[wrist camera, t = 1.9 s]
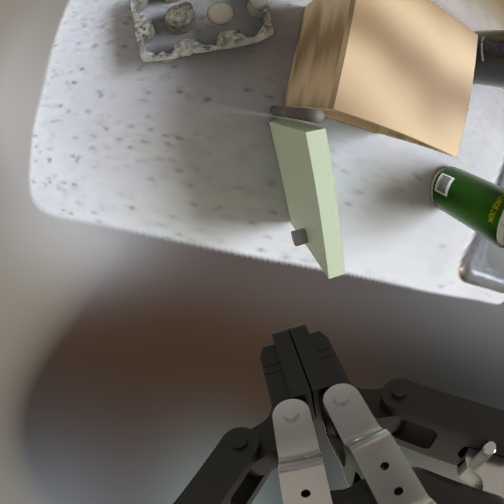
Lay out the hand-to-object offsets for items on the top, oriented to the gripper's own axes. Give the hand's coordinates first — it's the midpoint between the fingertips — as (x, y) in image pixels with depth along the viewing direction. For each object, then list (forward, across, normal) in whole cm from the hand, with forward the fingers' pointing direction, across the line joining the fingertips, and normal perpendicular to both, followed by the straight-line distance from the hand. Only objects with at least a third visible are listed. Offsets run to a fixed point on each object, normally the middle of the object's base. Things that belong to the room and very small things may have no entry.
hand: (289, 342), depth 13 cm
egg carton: (+18, -1, -18) cm, 25 cm away
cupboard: (+17, -12, -11) cm, 24 cm away
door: (+17, -4, -3) cm, 18 cm away
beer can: (+17, -24, +3) cm, 29 cm away
